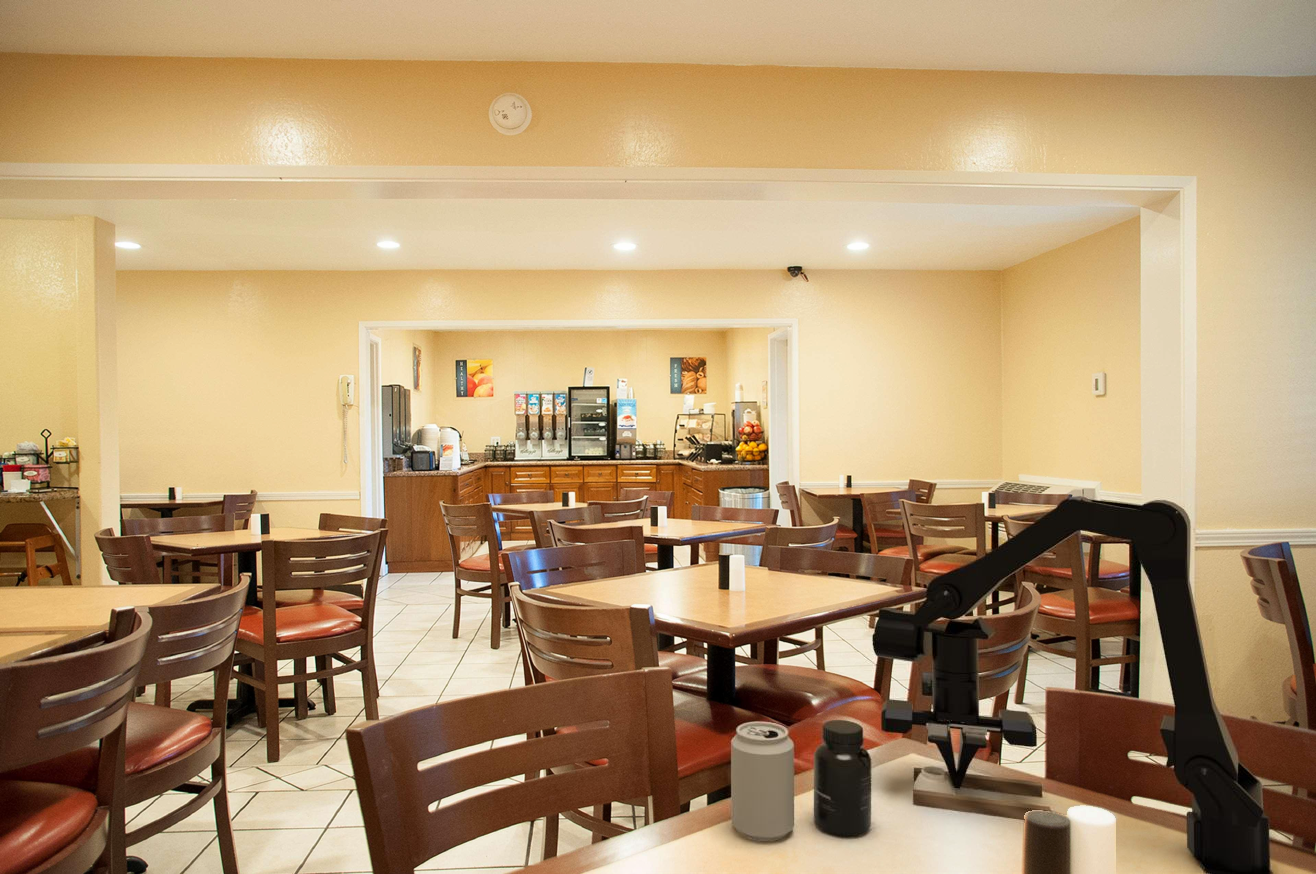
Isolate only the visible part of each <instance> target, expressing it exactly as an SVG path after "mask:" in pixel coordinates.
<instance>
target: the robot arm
mask: <svg viewBox="0 0 1316 874" xmlns="http://www.w3.org/2000/svg"><path fill="white" fill-rule="evenodd" d="M1182 507H1183V506H1180V505H1178V504H1177V503H1175V502H1173V501H1169V500H1165V499H1154V500H1149V501H1147V502H1145V503H1144V504H1142V505H1141V504H1134V503H1133V504H1132V503H1126V502H1124V503H1123V502H1117V501H1106V500H1098V499H1091V498H1087V497H1085V496H1081V495H1079V496H1071V497H1067V498H1065V499H1063V500H1061V502H1059V503H1058V505H1056V507H1055V508H1053V509H1052V510H1051V511H1049V512H1047V513H1046V514H1044V515H1043V516H1041V517H1040V518H1038V519H1037V520H1035V522H1033V523H1031V524H1030V525H1028V526H1027V527H1025V528H1023V529H1022V530H1020V531H1019V532H1018V533H1015V535H1013V536H1012V537H1010V538H1008V539H1007V540H1006V541H1004V542H1003V543H1002V544H999V546H997V547H995V548H994V549H993V550H991V551H990V552H989V553H987V554H985V555H984V556H982V557H979V558H978V559H976V560H974V561H971V562H969V563H966V564H964V565H961V566H959V567H957V568H954V569H952V570H950V571H947V572H946V573H942V574H941V575H938V576H936V577H934V578H932V580H931V581H929V583H927V586H926V594H925V599H924V601H923V603H922V604H921V605H920V606H919V608H917V609H916V611H912V610H911V611H909V610H901V609H897V608H894V607H887V606H885V607H882V608H880V609H879V610H878V619H877V621H876V623H875V627H874V630H873V631H874V632H873V634H872V647H873V652H874V654H875V656H876V657H878V658H885V659H892V660H898V661H905V662H911V663H918V664H920V663H921V662H922V661H923V658H924V657H928V656H929V655H930V654H931V657H932V658H931V665H932V666H931V669H932V670H931V671H932V673H931V672H921V696H922V697H926V698H931V700H932V701H931V702H932V704H931V707H932V710H923V709H921V710H920V709H914V708H913V707H914V706H913V705H914V704H913V702H914V701H911V700H903V699H890V698H889V699H888V698H887V699H885V701H884V702H883V703H882V706H881V716H880V720H881V722H880V724H881V731H883V732H886V733H891V734H892V733H894V734H902V735H903V734H904V735H906V734H908V733H909V732H910V731H911V730H912V729H913V725H915V726H925V727H926V729H925V730H926V732H927V736H926V737H927V738H926V739H927V742H928V743H931V744H935V745H936V747H937V749H938V751H939V753H940V755H941V757H942V759H943V761H944V763H945V765H946V768H947V771H948V772H949V775H950V778H951V780H952V783H953V787H954V790H955V789H956V790H961V788H962V787H961V785H962V782H963V780H964V777H965V774H966V773H967V772H968V769H969V766H970V765H971V762H972V761H973V758H974V757H975V756H976V754H977V752H978V751H979V749H987V748H988V742H987V738H986V736H988V733H995V734H996V733H997V734H1002V737H1003V739H1004V741H1006V742H1007V743H1008V744H1009V745H1010V746H1019V747H1029V748H1033V747H1037V745H1038V739H1037V737H1038V736H1037V733H1038V732H1037V726H1036V723H1035V721H1034V719H1033V717H1032V716H1031V714H1030V713H1029V712H1028V711H1024V710H1023V711H1022V710H1012V709H1011V710H1010V709H1000V708H999V709H998V717H997V716H995V717H994V716H987V715H986V716H985V715H980V689H979V688H980V687H979V686H980V684H979V683H980V682H979V677H980V675H979V640H985V641H986V640H988V639H990V638H991V637H992V636H994V635H995V633H996V631H995V630H994V628H992V627H991V626H990V625H989V624H988V623H986V622H985V620H984V619H983V617H982V616H978V617H977V618H975V619H974V620H973V622H971V621H964V620H958V619H959V618H961V617H964V616H966V615H968V614H969V613H971V612H973V611H974V610H975V609H976V608H978V607H979V606H980V605H981V604H982V603H983V602H984V601H985V600H986V599H988V597H989V596H991V594H993V592H994V591H995V590H996V589H997V588H998V587H1000V585H1001V584H1002V583H1003V582H1004V581H1005V580H1006V579H1007V578H1009V577H1010V576H1011V575H1014V574H1015V573H1017V572H1018V571H1019V570H1021V569H1022V568H1025V566H1027V565H1028V564H1030V563H1032V562H1033V561H1035V560H1036V559H1038V558H1039V557H1041V556H1043V554H1046V553H1047V552H1048V551H1050V550H1052V549H1053V548H1055V547H1056V546H1058V545H1060V544H1061V543H1062V542H1064V541H1066V540H1067V539H1068V538H1070V537H1072V536H1074V535H1075V534H1077V533H1078V532H1079V531H1083V532H1088V533H1092V534H1097V535H1101V536H1102V535H1103V536H1105V537H1110V538H1116V539H1120V540H1121V539H1122V540H1128V541H1131V543H1132V546H1133V548H1134V552H1135V554H1136V556H1137V558H1138V559H1137V560H1139V562H1140V565H1141V567H1142V569H1143V571H1144V573H1145V575H1146V577H1147V579H1148V581H1149V584H1150V586H1151V591H1152V595H1153V596H1152V597H1153V602H1154V607H1155V608H1154V609H1155V612H1156V617H1157V622H1158V627H1159V633H1160V639H1161V644H1162V648H1163V649H1162V650H1163V653H1164V658H1165V662H1166V663H1165V664H1166V668H1167V674H1168V678H1169V684H1170V689H1171V694H1172V699H1173V704H1174V716H1171V715H1170V716H1169V715H1164V716H1163V718H1162V723H1161V725H1160V729H1159V731H1160V735H1161V739H1162V740H1163V743H1164V747H1165V748H1166V753H1167V754H1166V755H1167V756H1166V757H1167V758H1166V763H1165V767H1166V768H1167V769H1170V768H1171V767H1173V772H1174V774H1175V777H1176V779H1177V781H1178V782H1179V784H1180V785H1181V786H1182V787H1183V788H1185V789H1186V790H1187V791H1189V792H1190V793H1191V794H1193V796H1194V797H1191V811H1187V812H1186V842H1187V843H1186V847H1187V849H1188V851H1189V852H1190V854H1191V855H1192V857H1193V858H1194V859H1195V860H1196V861H1197V863H1198V864H1199V865H1200V867H1201V868H1202V870H1203V872H1204V873H1207V874H1274V872H1273V871H1272V870H1271V849H1270V817H1269V816H1268V814H1267V813H1265V812H1264V799H1263V797H1264V796H1263V784H1262V782H1261V780H1259V778H1257V777H1256V776H1255V774H1253V773H1252V772H1251V771H1250V770H1249V769H1248V768H1247V767H1246V766H1245V765H1244V764H1243V763H1242V762H1241V761H1240V760H1239V755H1238V752H1237V748H1236V747H1235V745H1234V744H1235V743H1234V742H1233V739H1232V737H1231V735H1230V732H1229V730H1228V727H1227V725H1226V722H1225V721H1224V719H1223V717H1222V714H1221V713H1220V711H1219V708H1218V707H1217V705H1216V702H1215V699H1214V693H1213V690H1212V686H1211V679H1210V674H1209V671H1208V670H1209V669H1208V664H1207V660H1206V655H1205V650H1204V646H1203V640H1202V639H1203V638H1202V635H1201V629H1200V624H1199V620H1198V614H1197V610H1196V605H1195V600H1194V594H1193V591H1192V585H1191V580H1190V579H1191V578H1190V573H1191V572H1190V571H1191V545H1192V544H1191V537H1192V535H1191V531H1192V530H1191V527H1192V526H1191V519H1190V516H1189V514H1188V513H1187V511H1186V510H1185V509H1184V508H1182ZM940 619H946V620H949V621H948V622H947V624H946V625H945V624H936V623H935V624H934V622H936V621H938V620H940ZM951 729H953V730H960V732H959V733H960V734H959V735H960V736H959V746H958V755H957V763H956V760H955V759H956V758H955V753H954V746H953V741H952V733H951Z"/></svg>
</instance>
